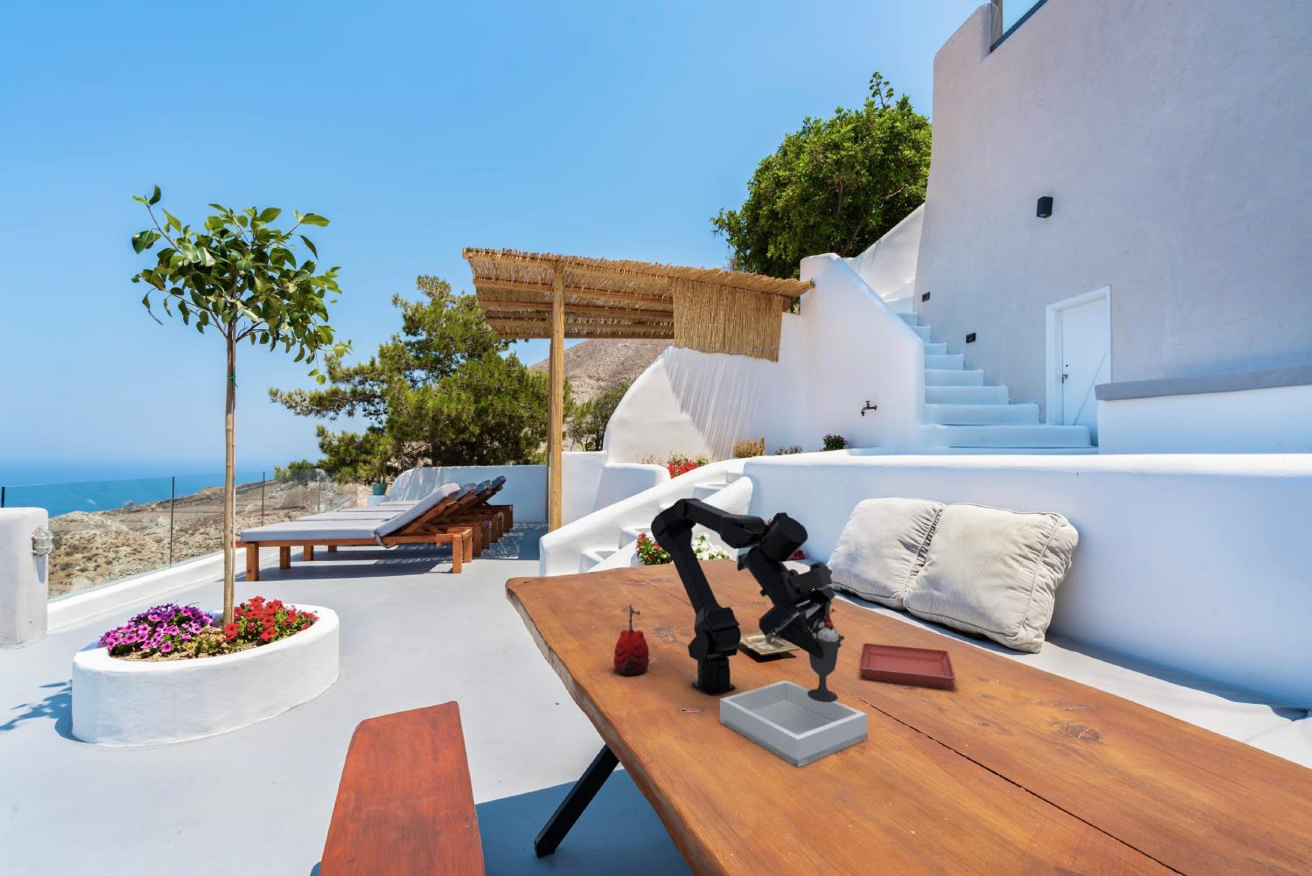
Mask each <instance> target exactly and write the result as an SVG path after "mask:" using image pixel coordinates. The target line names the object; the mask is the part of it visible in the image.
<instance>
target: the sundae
mask: <svg viewBox="0 0 1312 876" xmlns="http://www.w3.org/2000/svg"><path fill="white" fill-rule="evenodd" d="M835 612H836V609H834V608H831V610H830V611H829V613H828V615H829V616H828V615H827V616H824V618H821V619H818V620H817V621H816V620H814V619H810V629H809V630H810V631H811V633H812V634H813V636H814V638H815V639H816V641H817V642H818V644H819V646H820V647H821V649H822V651H823V653H824V655H825V656H824V657H823V658H822V659H818V658H816V657H815V656H813V655H811V654H810V653H808V657H809V658H808V660H809V664H810V668H811V669H812V670H813V671H814V672H815V673H816V674H817V675H818V681H819V682H818V687H817V688H812V689H809V690H810V691H808V693H807V695H808V696H809V697H810V698H811V699H813V700H816V701H820V702H833V701H837V700H838V698H839V697H838V694H837V693H835V692H833V691H831V690H829V689H828V687H827V677H828V675H831V674H832V673H833V672H834V671H835V669H836V666H837V662H838V661H837V660H838V655H839V654H838V652H839V649H840V647H839V646H840V644H841V642H842V641H844V640H845V636H843V635H841V634H840V633H838V631H837V629H836V628H835V626H834V623H833V622H831V621H832V618H831V614H833V613H835Z"/></svg>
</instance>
